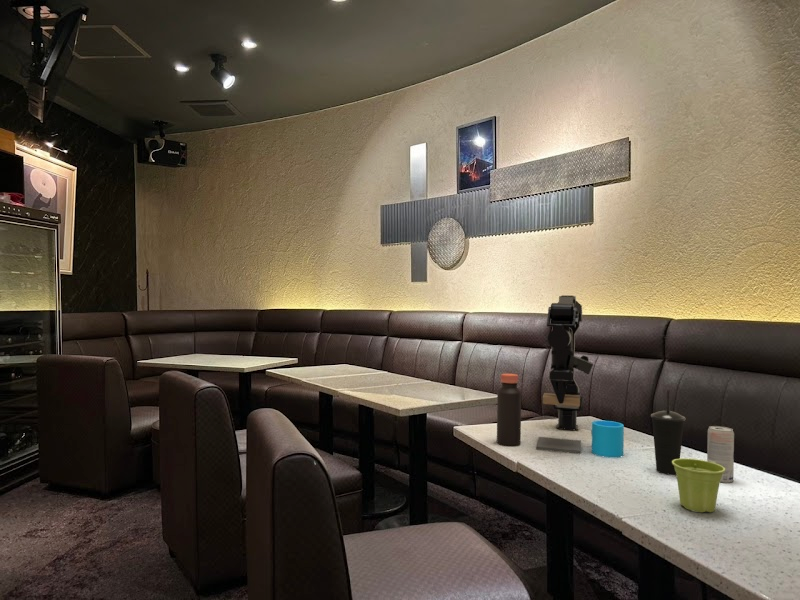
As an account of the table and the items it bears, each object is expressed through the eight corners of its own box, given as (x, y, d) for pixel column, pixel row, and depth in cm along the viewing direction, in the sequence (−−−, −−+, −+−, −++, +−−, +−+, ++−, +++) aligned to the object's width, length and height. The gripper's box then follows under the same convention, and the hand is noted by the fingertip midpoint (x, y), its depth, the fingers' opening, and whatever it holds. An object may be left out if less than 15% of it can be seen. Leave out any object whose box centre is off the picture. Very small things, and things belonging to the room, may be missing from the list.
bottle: (492, 442, 158) (493, 374, 158) (506, 439, 162) (507, 372, 162) (511, 447, 152) (512, 376, 153) (525, 443, 157) (526, 375, 157)
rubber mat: (538, 439, 162) (538, 436, 162) (580, 443, 159) (580, 440, 159) (535, 449, 151) (535, 446, 151) (581, 453, 147) (581, 450, 147)
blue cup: (629, 457, 145) (630, 426, 145) (601, 458, 144) (602, 427, 144) (605, 445, 157) (605, 417, 157) (579, 446, 155) (579, 417, 155)
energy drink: (729, 477, 129) (729, 426, 129) (736, 484, 124) (737, 431, 124) (704, 474, 131) (704, 425, 131) (710, 481, 125) (711, 430, 125)
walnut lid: (544, 399, 159) (544, 393, 159) (579, 402, 156) (579, 395, 156) (542, 403, 153) (542, 396, 153) (579, 406, 150) (580, 399, 150)
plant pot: (677, 495, 116) (677, 455, 116) (728, 507, 110) (728, 464, 110) (666, 508, 108) (666, 465, 109) (720, 520, 102) (720, 475, 103)
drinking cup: (653, 475, 130) (654, 391, 130) (647, 465, 137) (648, 387, 137) (688, 477, 128) (689, 393, 128) (680, 468, 135) (681, 388, 135)
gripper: (593, 350, 143) (592, 409, 143) (590, 345, 161) (589, 397, 161) (549, 349, 147) (549, 406, 147) (551, 344, 165) (550, 395, 165)
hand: (561, 401), depth 155 cm, fingers closed on walnut lid, 6 cm apart
